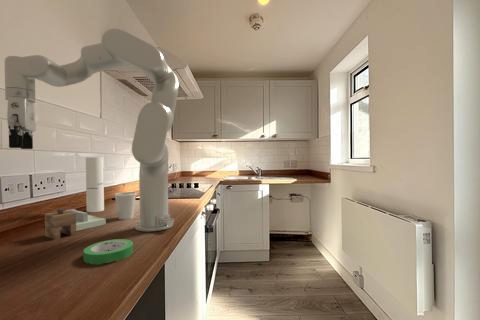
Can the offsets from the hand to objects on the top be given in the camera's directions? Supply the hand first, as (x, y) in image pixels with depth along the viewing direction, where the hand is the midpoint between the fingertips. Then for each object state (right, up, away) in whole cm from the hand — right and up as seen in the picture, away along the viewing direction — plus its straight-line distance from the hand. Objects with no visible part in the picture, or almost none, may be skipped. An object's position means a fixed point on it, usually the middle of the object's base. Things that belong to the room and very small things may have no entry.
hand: (21, 148), depth 84 cm
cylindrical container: (+4, -28, +36) cm, 46 cm away
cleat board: (+12, -28, +10) cm, 32 cm away
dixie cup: (+25, -28, +21) cm, 43 cm away
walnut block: (+14, -28, -2) cm, 32 cm away
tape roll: (+39, -28, -20) cm, 52 cm away
